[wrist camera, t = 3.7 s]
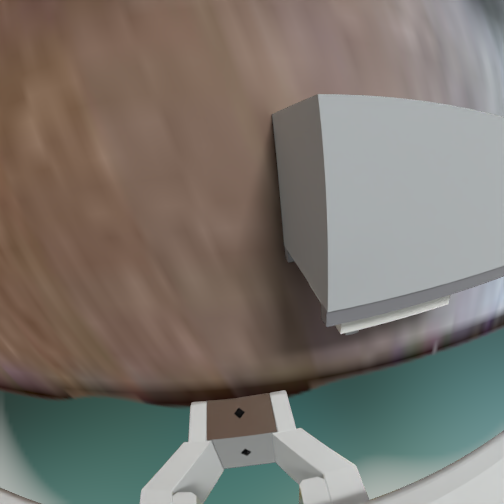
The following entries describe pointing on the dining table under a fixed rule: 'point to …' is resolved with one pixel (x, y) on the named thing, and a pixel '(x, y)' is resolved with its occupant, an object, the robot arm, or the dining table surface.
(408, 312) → the side door
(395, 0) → the dining table surface
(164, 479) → the robot arm
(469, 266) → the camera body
